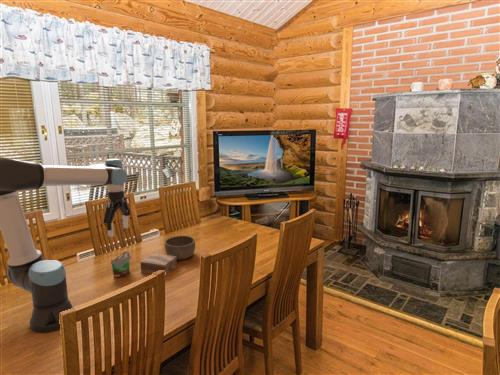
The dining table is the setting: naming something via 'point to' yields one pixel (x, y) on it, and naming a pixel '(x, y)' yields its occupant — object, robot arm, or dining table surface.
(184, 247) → the bowl
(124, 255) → the food container
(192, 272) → the dining table surface
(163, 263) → the walnut block
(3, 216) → the robot arm
